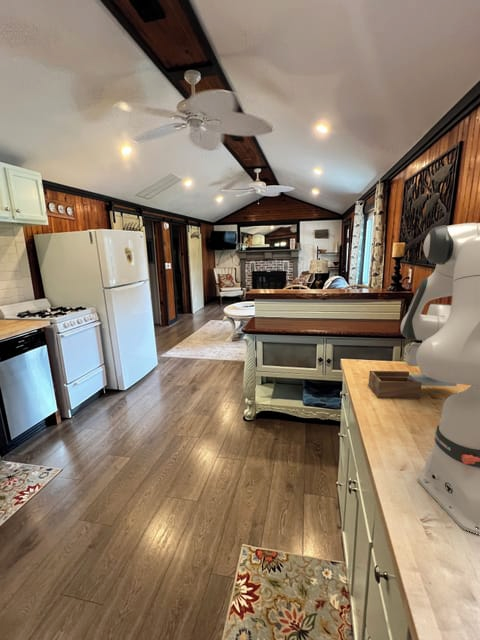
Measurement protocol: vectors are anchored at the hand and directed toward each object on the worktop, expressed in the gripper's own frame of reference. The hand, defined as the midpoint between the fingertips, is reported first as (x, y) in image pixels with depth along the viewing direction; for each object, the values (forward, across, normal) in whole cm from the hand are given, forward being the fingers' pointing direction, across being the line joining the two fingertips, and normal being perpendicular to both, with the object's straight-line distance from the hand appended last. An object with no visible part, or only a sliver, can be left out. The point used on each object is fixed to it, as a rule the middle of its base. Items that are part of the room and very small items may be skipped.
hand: (430, 375), depth 124 cm
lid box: (+8, -14, 0) cm, 16 cm away
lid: (+3, +1, 0) cm, 3 cm away
